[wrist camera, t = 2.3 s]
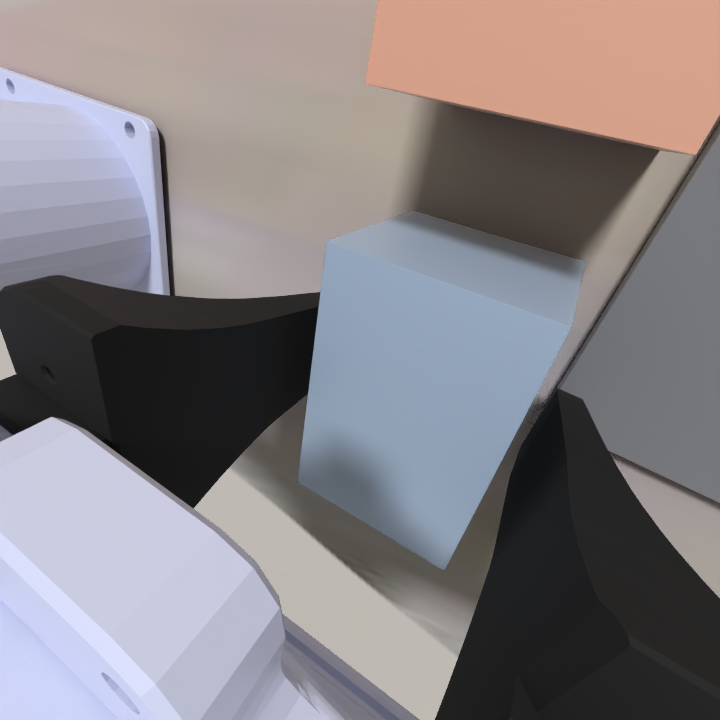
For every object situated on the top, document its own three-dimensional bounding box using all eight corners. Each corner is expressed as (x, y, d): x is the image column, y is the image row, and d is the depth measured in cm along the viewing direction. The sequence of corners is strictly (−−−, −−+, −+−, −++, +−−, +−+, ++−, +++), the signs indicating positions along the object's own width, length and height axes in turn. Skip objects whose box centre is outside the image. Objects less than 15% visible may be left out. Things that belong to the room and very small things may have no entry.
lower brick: (370, 403, 15) (297, 482, 11) (415, 210, 11) (326, 240, 8) (487, 460, 13) (444, 571, 10) (585, 260, 10) (571, 326, 6)
